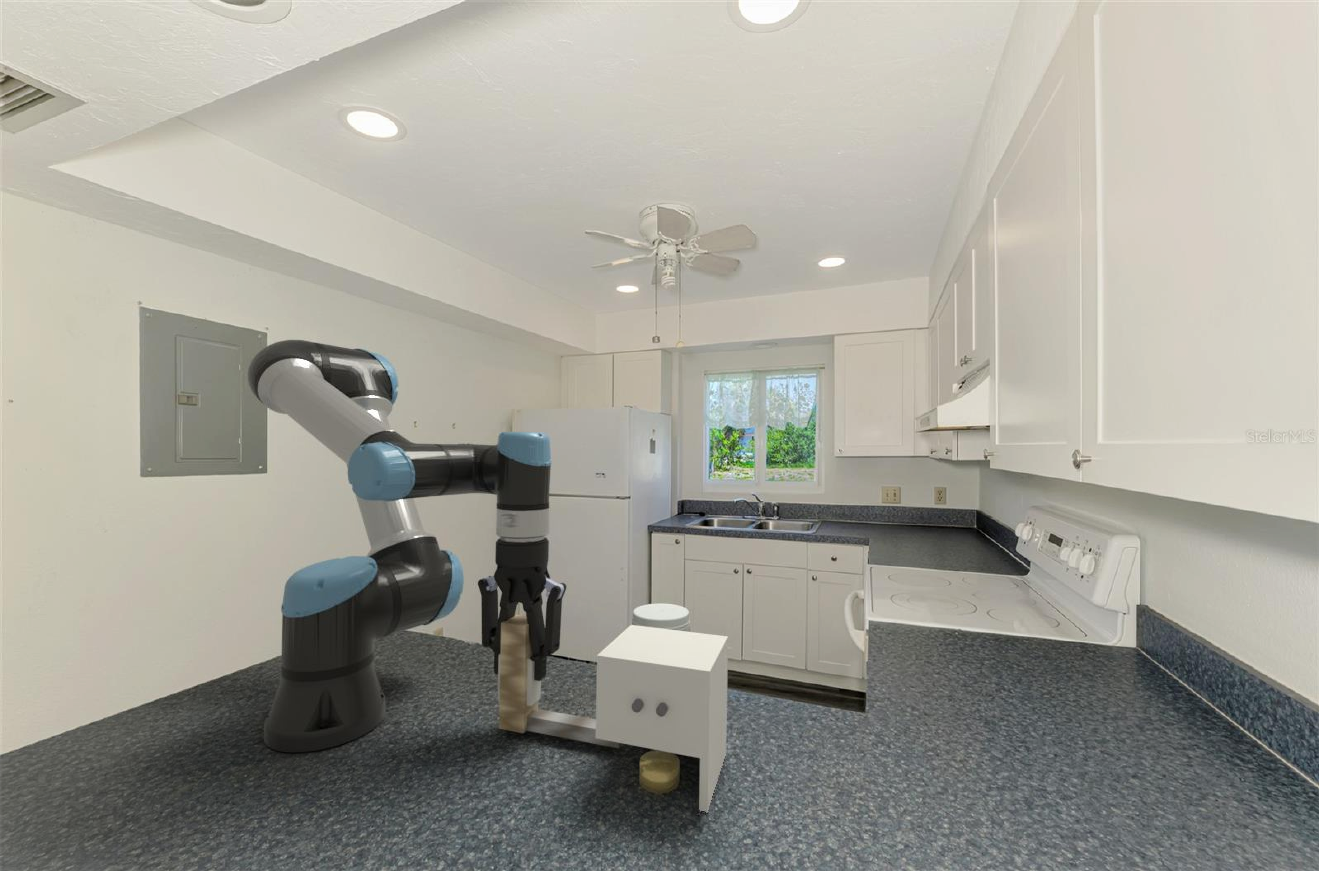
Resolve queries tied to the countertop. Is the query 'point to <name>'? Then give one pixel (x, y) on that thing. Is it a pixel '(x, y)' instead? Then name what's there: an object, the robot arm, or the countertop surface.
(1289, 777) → the countertop surface
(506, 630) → the scraper tool
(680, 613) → the supplement tub
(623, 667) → the cabinet
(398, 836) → the countertop surface
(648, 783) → the cylinder
